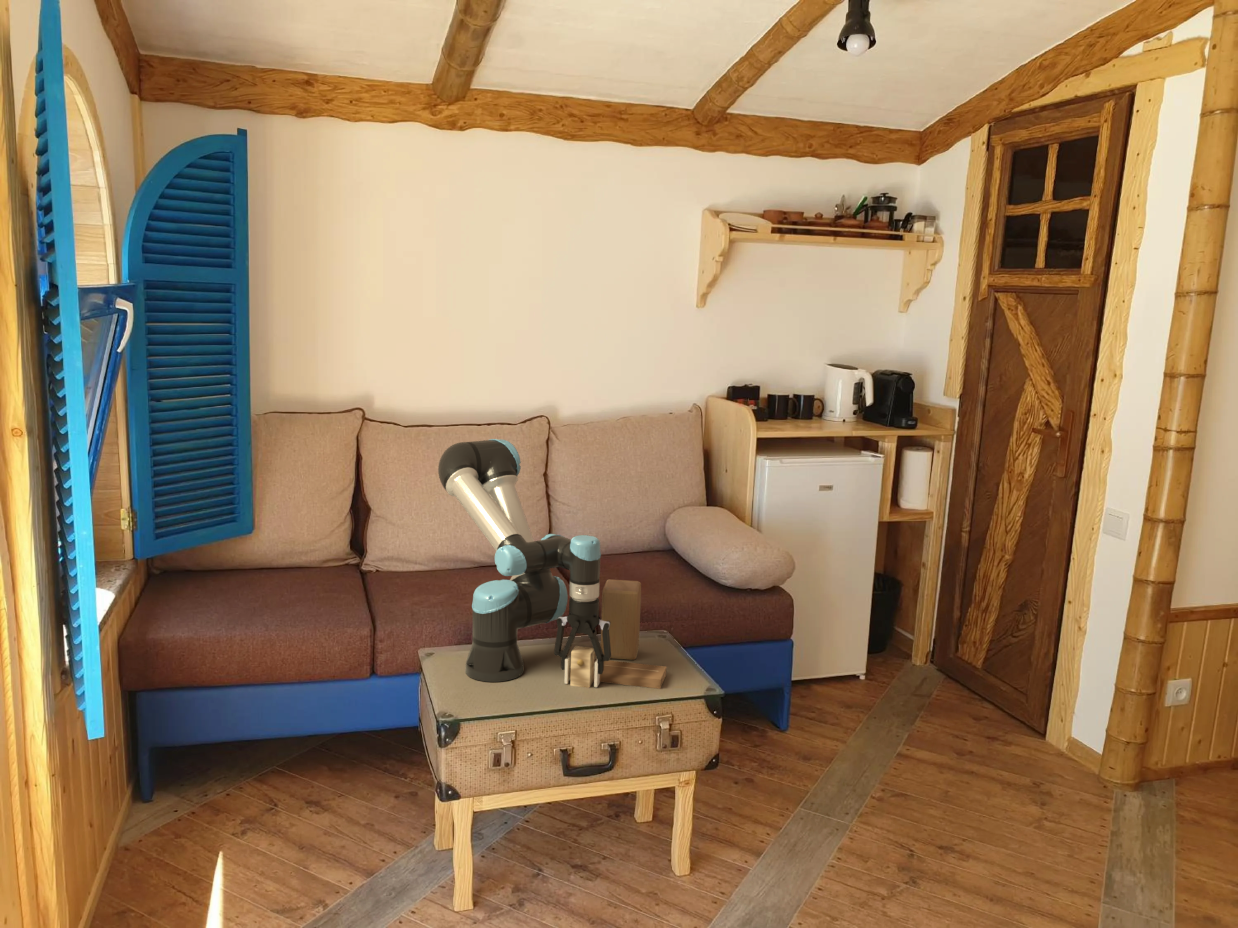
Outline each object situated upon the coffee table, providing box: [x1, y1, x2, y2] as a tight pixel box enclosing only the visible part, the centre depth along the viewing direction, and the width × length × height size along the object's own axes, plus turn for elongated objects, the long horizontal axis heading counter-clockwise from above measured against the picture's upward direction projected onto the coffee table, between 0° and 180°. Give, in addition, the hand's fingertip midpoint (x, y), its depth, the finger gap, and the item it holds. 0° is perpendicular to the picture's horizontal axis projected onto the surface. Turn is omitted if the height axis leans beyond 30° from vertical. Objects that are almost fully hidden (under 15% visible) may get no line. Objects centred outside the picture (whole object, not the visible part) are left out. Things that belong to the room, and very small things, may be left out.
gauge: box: [569, 645, 597, 689], centre depth 256 cm, size 5×14×9 cm, turn 168°
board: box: [570, 658, 667, 690], centre depth 257 cm, size 24×9×2 cm, turn 78°
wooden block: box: [600, 579, 642, 661], centre depth 272 cm, size 10×10×20 cm
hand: (581, 683), depth 252 cm, fingers open, 7 cm apart
